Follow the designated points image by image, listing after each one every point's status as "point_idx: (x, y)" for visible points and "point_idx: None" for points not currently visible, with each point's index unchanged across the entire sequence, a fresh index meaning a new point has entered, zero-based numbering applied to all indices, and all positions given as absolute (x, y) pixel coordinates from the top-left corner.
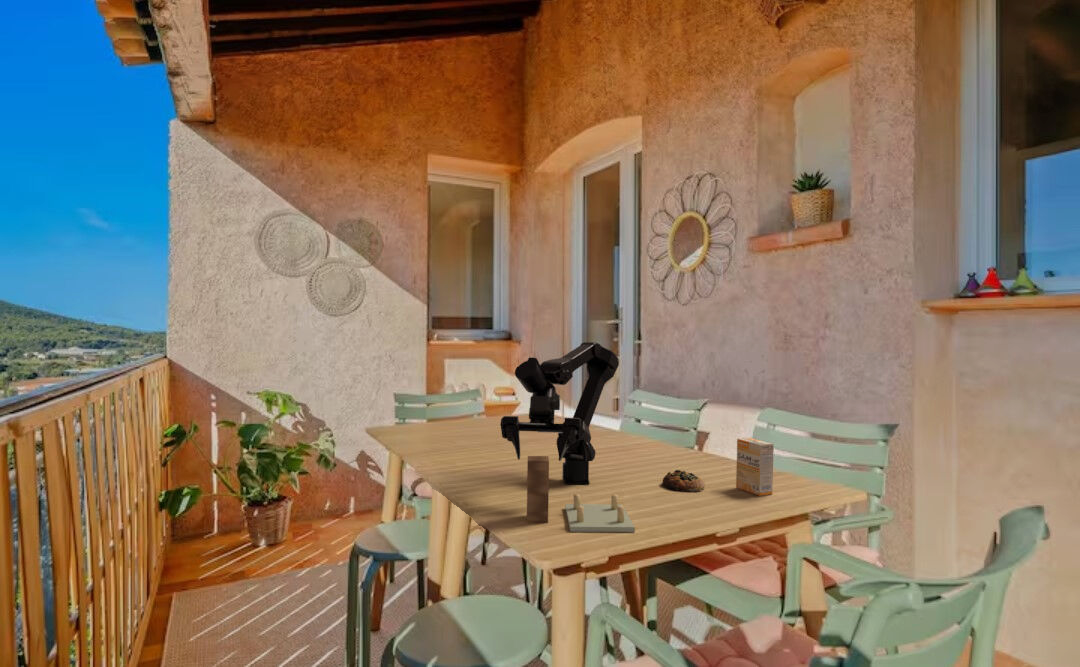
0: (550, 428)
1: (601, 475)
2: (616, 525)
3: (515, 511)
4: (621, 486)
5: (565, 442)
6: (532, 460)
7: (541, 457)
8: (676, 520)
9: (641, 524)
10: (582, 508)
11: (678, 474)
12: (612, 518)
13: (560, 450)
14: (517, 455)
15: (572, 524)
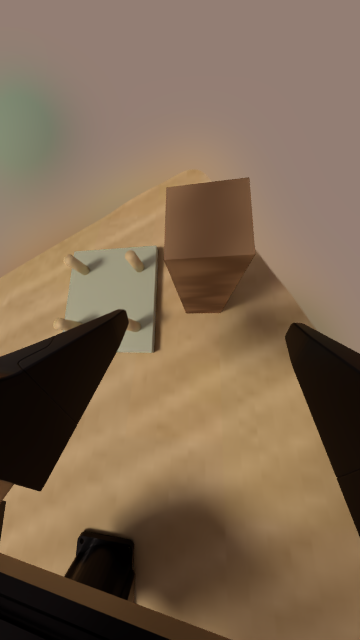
0: (14, 633)
1: None
2: (94, 255)
3: (241, 335)
4: (23, 506)
5: (39, 342)
6: (229, 183)
7: (193, 234)
8: (15, 302)
9: (62, 284)
10: (128, 251)
11: None
12: (92, 282)
13: (99, 322)
14: (306, 325)
15: (152, 254)
